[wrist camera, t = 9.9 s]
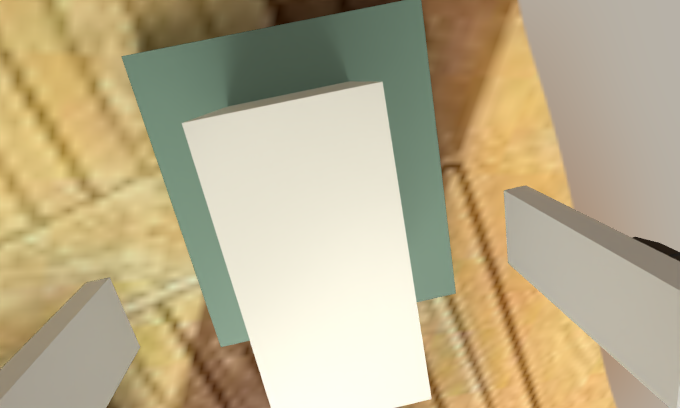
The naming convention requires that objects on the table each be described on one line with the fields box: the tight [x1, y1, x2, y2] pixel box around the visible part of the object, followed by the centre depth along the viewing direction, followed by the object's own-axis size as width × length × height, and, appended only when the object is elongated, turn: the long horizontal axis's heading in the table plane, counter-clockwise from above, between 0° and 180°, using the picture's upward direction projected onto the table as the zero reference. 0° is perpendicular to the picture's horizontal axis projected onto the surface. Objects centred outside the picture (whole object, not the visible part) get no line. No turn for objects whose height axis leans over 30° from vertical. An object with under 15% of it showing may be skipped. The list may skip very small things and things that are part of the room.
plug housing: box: [182, 81, 431, 408], centre depth 17 cm, size 12×6×8 cm, turn 11°
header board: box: [121, 0, 456, 347], centre depth 20 cm, size 16×14×6 cm
